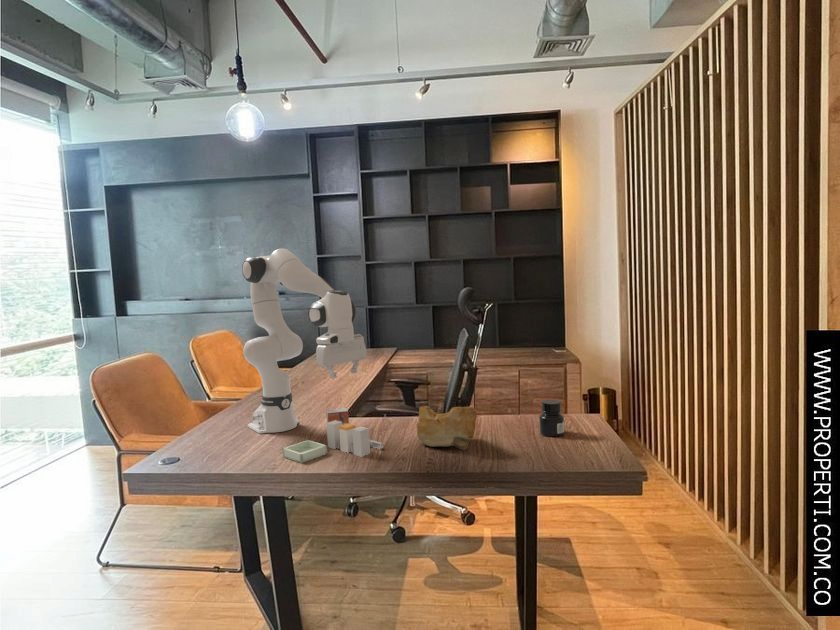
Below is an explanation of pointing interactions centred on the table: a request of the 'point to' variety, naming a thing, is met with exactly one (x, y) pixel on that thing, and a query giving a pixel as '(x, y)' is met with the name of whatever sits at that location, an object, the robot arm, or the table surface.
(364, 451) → the block
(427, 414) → the rough brown rock
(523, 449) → the table surface
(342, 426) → the block
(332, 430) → the block
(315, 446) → the tray
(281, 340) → the robot arm
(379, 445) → the rail
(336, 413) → the small box
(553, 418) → the ink bottle
